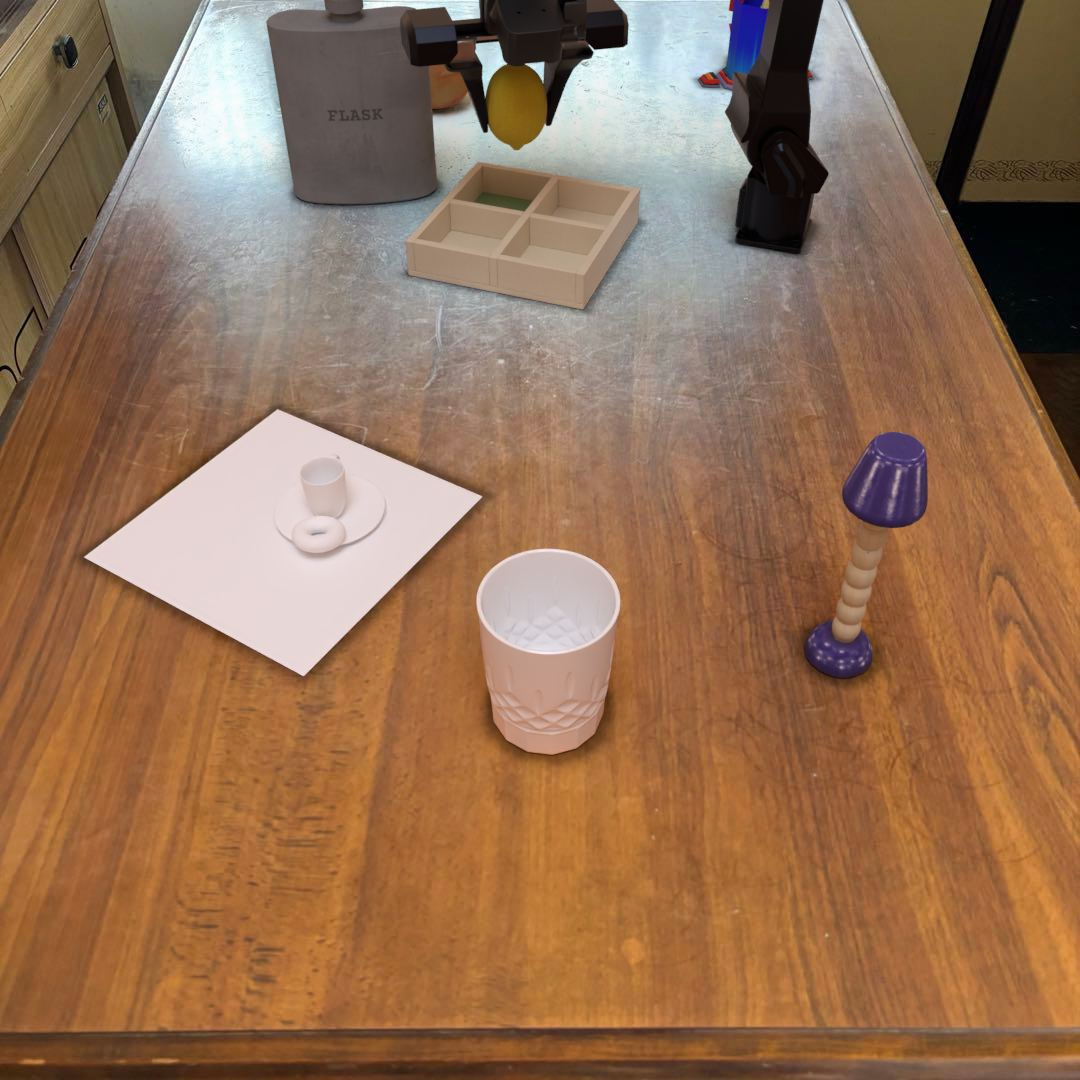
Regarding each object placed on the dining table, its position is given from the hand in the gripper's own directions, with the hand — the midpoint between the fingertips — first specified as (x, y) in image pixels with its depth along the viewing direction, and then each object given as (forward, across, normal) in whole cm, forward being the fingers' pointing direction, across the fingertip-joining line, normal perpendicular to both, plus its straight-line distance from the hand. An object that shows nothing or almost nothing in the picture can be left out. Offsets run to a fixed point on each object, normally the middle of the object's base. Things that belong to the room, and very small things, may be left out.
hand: (515, 127), depth 99 cm
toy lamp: (+12, +8, -55) cm, 57 cm away
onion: (+12, -2, +35) cm, 37 cm away
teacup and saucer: (+12, -25, -35) cm, 44 cm away
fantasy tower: (+12, +38, +34) cm, 52 cm away
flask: (+12, -13, +15) cm, 23 cm away
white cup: (+12, -11, -55) cm, 57 cm away
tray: (+12, +1, 0) cm, 12 cm away
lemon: (+2, 0, 0) cm, 2 cm away
